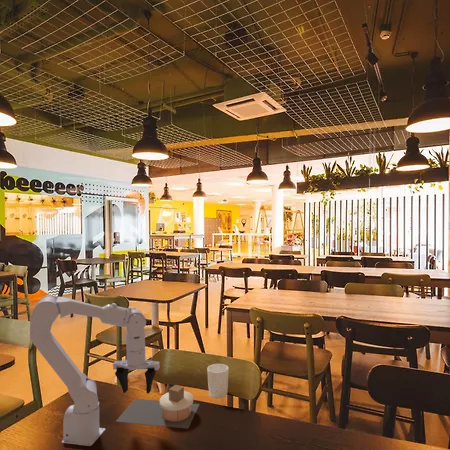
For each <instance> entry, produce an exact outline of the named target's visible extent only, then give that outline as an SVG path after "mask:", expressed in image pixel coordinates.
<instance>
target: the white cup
mask: <svg viewBox="0 0 450 450" xmlns="http://www.w3.org/2000/svg"><path fill="white" fill-rule="evenodd" d="M229 369H230V368H229V366H228V365H227V364H224V363H213V364H210V365H208V366H207V369H206V370H207V371H206V372H207V384H208V395H209V397H211V398H213V399H223V398H226V397H227V396H228V388H229Z"/></svg>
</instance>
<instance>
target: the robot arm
mask: <svg viewBox="0 0 450 450" xmlns="http://www.w3.org/2000/svg"><path fill="white" fill-rule="evenodd" d="M71 314H73V315H78V316H84V317H91V318H98V319H99V320H100V322H101V323H102V324H105V325H110V326H115V327H121V328H126V333H125V334H126V335H125V341H126V344H125V345H126V349H125V350H126V359H125V360H115V361H114V362H113V363H112V369H113V370H116V371H115V373H114V375H115V377H116V379H117V380H118V381H119V383H120V386H121V389H122V393H123V394H125V393H127V391H128V390H129V371H136V370H146V371H145V372H144V378H145V382H146V383H145V385H146V386H145V387H146V388H145V389H146V390H145V391H146V394H150V393H151V391H152V386H153V383H154V377H155V375H156V372H157V371H159V369H160V367H161V365H160V364H161V363H160V361H157V360H156V361H155V360H150V359H146V334H145V327H146V325H147V320H146V316H144V314H143V312H142V311H141V310H140V309H138V308H135V307H129V306H128V307H122V306H118V305H117V303H115V302H112V304H111V303H110V304H109V303H108V304H106V305H103V306H99V305H96V304H92V303H88V302H84V301H80V300H77V299H72V298H68V297H65V296H55V295H51V294H50V295H44V296H41V298H40V299H38V301H37V303H36V305H35V306H34V308H33V310H32V312H31V314H30V316H29V340H30V341H31V343H32V344H33V346H34V347H35V348H36V349H37V351H39V352H40V354H41V356H42V357H43V358H44V359H45V361H46V362H47V363H48V365H49V366H50V367H51V368H52V370H53V371H54V372H55V374H56V375H57V376H58V377H59V379H60V380H61V382H62V383H63V384H64V385H65V386H66V388H67V390H68V393H69V396H70V398H71V399H72V401H73V404H71V405H69V406H68V408H67V409H66V410H65V412H64V416H63V421H62V424H63V425H62V428H63V429H62V430H63V431H62V433H63V434H62V437H63V438H62V441H61V444H69V445H71V444H72V445H78V446H87V447H91V446H92V445H93V444H94V443H95V442H96V441H97V440H98V439H99V438H100V437H101V435H102V434H103V433H104V432H105V431H106V428H105V427H100V401H99V396H98V393H97V392H98V391H97V390H98V389H97V387H98V386H97V382H96V381H95V380H94V379H92V378H90V377H88V376H87V375H86V374H85V372H82V371H81V370H80V369H79V368H78V366H77V365H76V363H75V362H74V361H73V360H72V358H71V357H70V355H69V354H68V353H67V351H66V350H65V349H64V348H63V346H62V345H61V343H60V342H59V341H58V340H57V338H56V337H55V336H54V335H53V333H52V331H51V330H52V326H53V324H54V322H55V321H56V319H57V318H58V316H59V315H60V316H59V318H60V319H63V318H65V317H67V316H69V315H71ZM39 352H38V353H39Z"/></svg>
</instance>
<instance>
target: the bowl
mask: <svg viewBox="0 0 450 450" xmlns="http://www.w3.org/2000/svg"><path fill="white" fill-rule="evenodd" d="M190 413H191V406H190V407H188V408H186V409H184V410H180V411H168V410H165V409H163V408H162V416H163V418H164V419H165V420H167V421H170V422H179V421H183V420H185V419H187V418H188V417H189V416H190Z"/></svg>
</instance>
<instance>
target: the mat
mask: <svg viewBox="0 0 450 450" xmlns="http://www.w3.org/2000/svg"><path fill="white" fill-rule="evenodd" d="M200 405H201V404H200V403H194V402H193V403H192V405H191V413H190V416H189V417H188V418H187V419H185V420H183V421H179V422H170V421H167V420H165V419H164V418H163V416H162V408H161V406H160V400H158V399H157V400H156V399H155V400H154V399H146V398H145V399H143V398H134V399H133V400H132V402H131V403H130V404H129V405H128V406H127V407H126V408H125V410H124V411H123V412H122V414H120V416H119V417H118V418H117V419H116V420H115V422H119V423H129V424H137V425H147V426H157V427H158V426H159V427H169V428H177V429H178V428H179V429H186V430H187V429H189V428H190V426H191V423H192V422H193V419H194V418H195V415H196V413H197V411H198V409H199V406H200Z"/></svg>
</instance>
